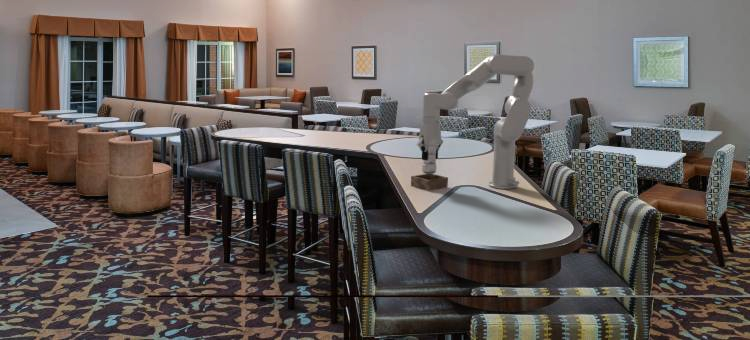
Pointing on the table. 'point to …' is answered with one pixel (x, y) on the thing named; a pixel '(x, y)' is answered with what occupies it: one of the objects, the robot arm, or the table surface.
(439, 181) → the square wooden frame
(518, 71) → the robot arm
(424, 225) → the table surface
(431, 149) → the silver rounded threaded piece
